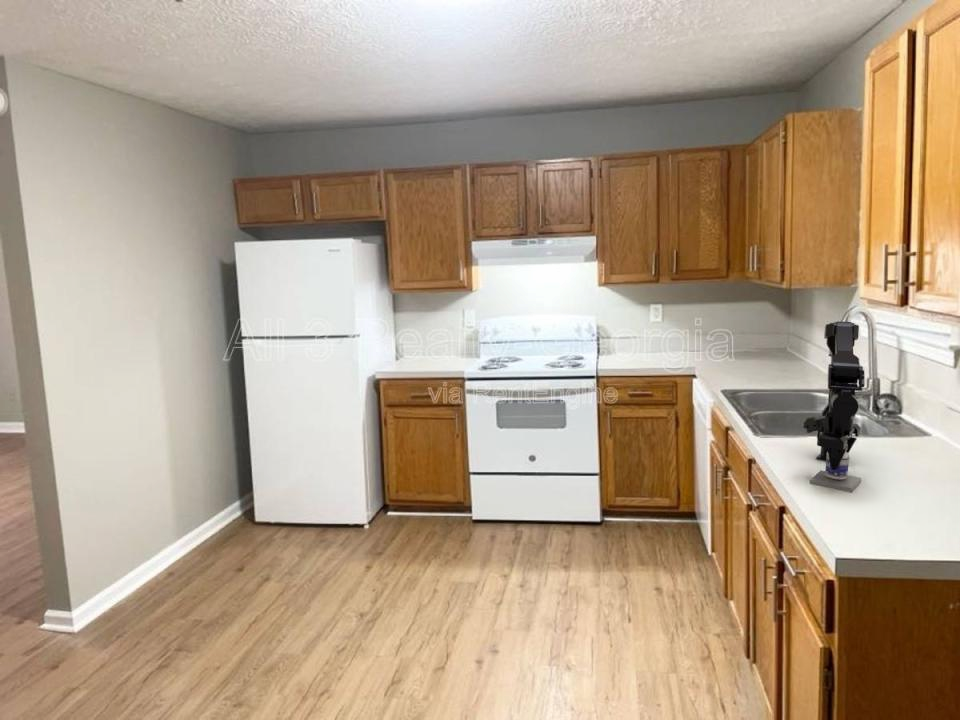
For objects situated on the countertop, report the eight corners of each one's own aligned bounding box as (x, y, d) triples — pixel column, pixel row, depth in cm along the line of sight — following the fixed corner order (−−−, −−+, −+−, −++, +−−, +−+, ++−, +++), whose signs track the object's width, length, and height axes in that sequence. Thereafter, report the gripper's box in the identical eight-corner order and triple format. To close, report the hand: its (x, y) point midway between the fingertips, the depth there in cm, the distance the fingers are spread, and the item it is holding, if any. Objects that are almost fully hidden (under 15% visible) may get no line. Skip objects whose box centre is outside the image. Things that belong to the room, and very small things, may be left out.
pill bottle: (820, 474, 187) (823, 442, 185) (835, 472, 189) (838, 439, 187) (836, 480, 182) (839, 447, 180) (852, 478, 184) (855, 445, 182)
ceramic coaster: (820, 474, 193) (820, 470, 192) (860, 482, 186) (861, 478, 186) (809, 484, 185) (810, 479, 185) (851, 492, 179) (852, 488, 178)
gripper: (818, 398, 194) (814, 452, 197) (797, 410, 180) (793, 469, 183) (863, 404, 187) (858, 460, 190) (845, 417, 173) (840, 478, 176)
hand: (836, 466), depth 185 cm, fingers closed on pill bottle, 5 cm apart
